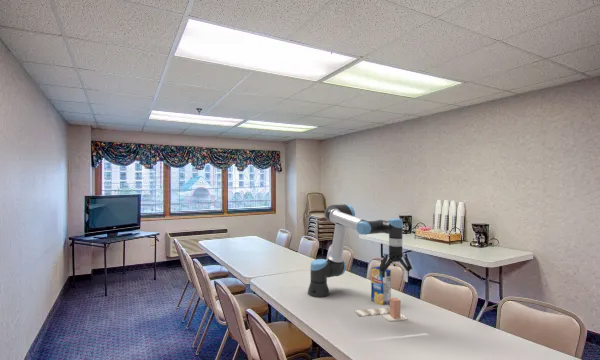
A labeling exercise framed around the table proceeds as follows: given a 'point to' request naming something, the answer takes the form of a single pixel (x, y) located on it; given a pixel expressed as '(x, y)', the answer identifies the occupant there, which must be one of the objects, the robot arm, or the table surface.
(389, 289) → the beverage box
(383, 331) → the table surface
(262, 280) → the table surface
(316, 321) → the table surface
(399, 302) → the stub
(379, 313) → the white tray
